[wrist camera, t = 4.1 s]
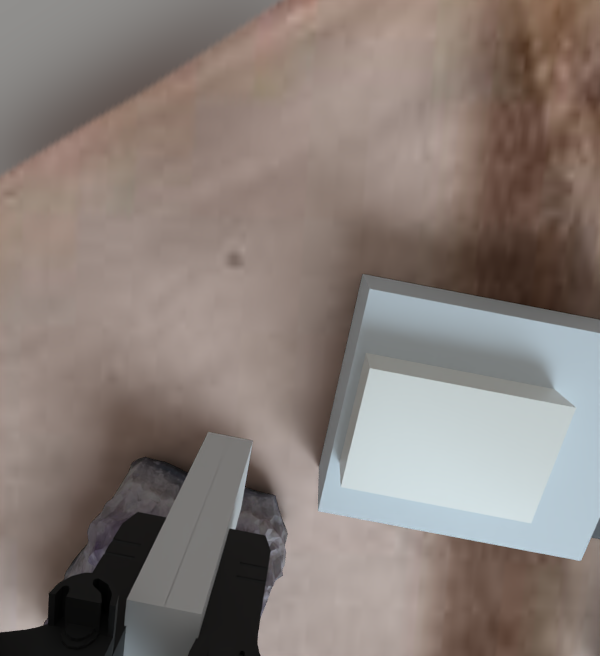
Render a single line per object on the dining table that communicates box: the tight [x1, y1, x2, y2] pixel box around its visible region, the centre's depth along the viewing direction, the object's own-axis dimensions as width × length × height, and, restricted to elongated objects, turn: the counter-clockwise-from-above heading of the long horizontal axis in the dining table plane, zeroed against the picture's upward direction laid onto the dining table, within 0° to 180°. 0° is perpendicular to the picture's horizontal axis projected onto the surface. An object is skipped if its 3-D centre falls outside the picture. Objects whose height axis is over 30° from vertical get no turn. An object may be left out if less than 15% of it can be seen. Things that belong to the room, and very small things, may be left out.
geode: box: [44, 457, 288, 625], centre depth 27 cm, size 20×12×10 cm, turn 147°
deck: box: [318, 274, 600, 561], centre depth 25 cm, size 14×12×4 cm
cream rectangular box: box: [339, 353, 576, 523], centre depth 22 cm, size 9×6×2 cm, turn 80°
